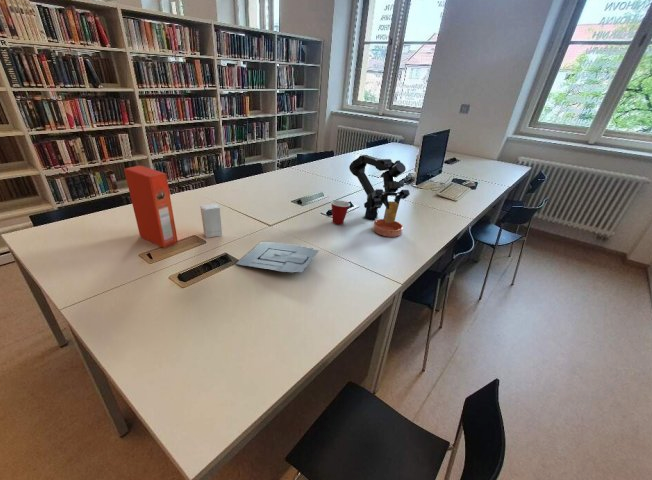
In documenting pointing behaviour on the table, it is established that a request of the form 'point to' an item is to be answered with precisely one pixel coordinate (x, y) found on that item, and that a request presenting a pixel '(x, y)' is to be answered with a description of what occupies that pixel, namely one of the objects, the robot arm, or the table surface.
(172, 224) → the file binder
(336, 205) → the plastic cup
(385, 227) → the bowl
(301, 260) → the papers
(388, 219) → the ochre block
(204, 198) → the table surface
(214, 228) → the cosmetic box
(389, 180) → the robot arm
